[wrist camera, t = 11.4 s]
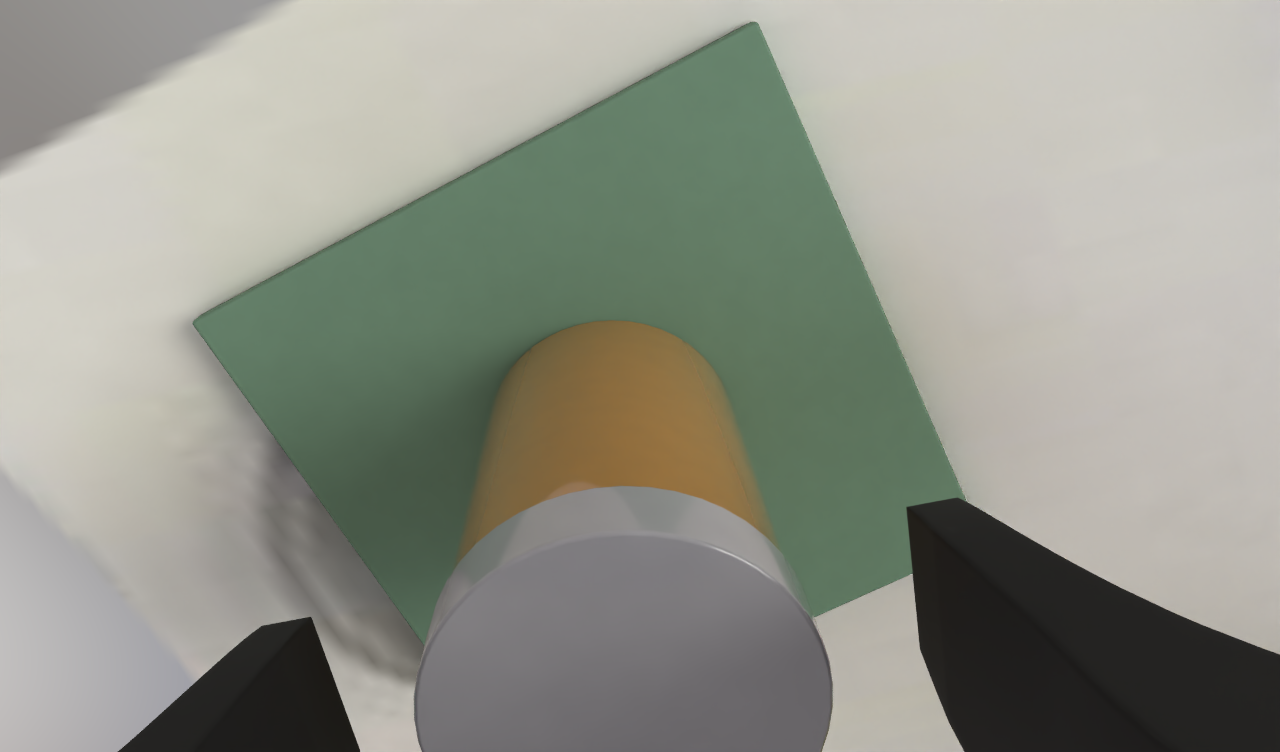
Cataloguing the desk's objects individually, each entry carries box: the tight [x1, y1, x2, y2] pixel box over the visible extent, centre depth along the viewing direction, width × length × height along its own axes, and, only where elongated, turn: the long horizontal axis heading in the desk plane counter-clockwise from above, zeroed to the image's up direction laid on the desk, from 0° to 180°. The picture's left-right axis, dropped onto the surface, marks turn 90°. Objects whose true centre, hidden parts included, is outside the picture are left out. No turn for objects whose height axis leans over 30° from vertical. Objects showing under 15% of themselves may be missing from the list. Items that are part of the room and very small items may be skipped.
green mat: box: [193, 22, 966, 645], centre depth 17 cm, size 10×10×1 cm
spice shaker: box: [414, 320, 833, 752], centre depth 14 cm, size 4×4×7 cm
